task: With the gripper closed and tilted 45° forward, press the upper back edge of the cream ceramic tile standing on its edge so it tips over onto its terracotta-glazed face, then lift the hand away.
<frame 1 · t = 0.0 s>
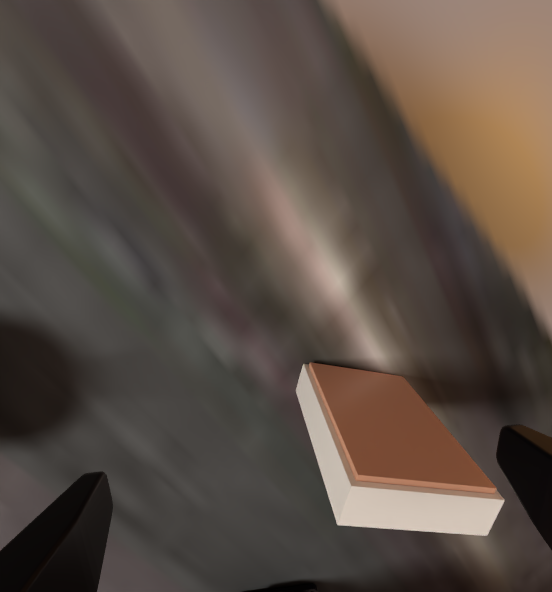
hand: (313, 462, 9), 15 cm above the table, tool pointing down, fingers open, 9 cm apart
tile: (350, 384, 26), on the table
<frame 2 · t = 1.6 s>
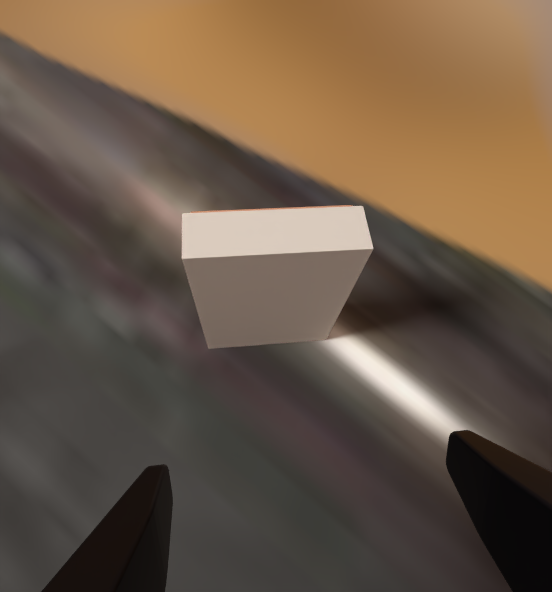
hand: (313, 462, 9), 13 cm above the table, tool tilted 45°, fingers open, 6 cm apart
tile: (266, 328, 24), on the table
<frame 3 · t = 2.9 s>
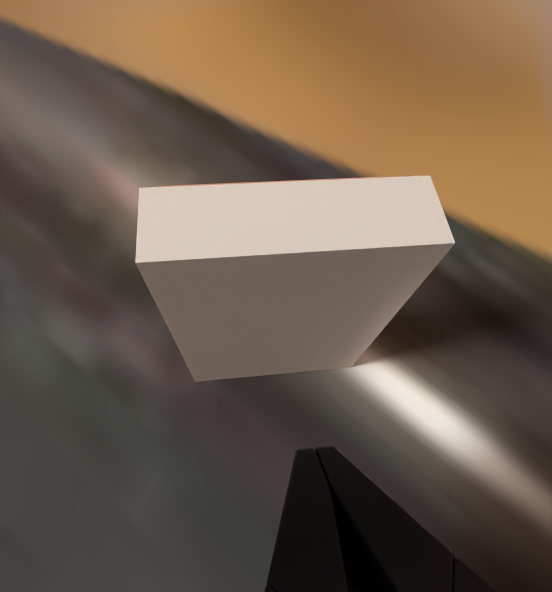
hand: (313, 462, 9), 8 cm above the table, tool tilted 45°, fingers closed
tile: (272, 352, 18), on the table
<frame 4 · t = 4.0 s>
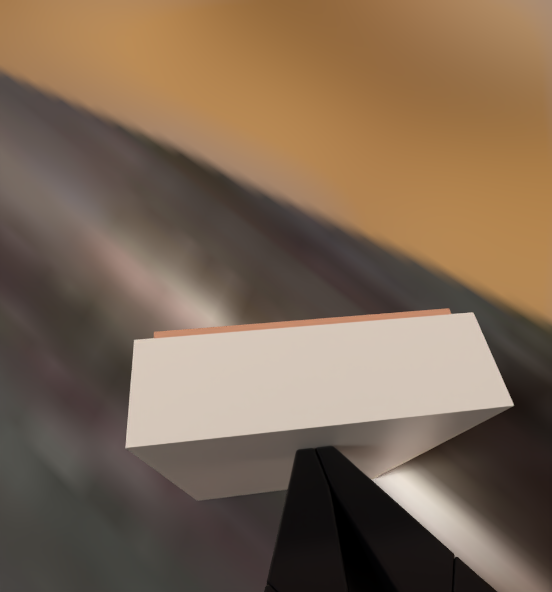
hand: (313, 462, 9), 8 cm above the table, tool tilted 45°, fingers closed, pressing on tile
tile: (284, 462, 16), on the table, tilted 5°, touching gripper
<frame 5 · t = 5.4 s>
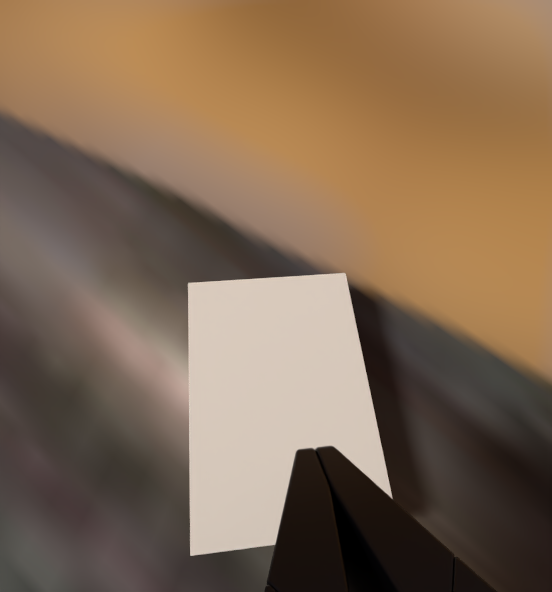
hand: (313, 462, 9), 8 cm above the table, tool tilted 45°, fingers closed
tile: (294, 538, 14), point 1 cm above the table, tilted 90°
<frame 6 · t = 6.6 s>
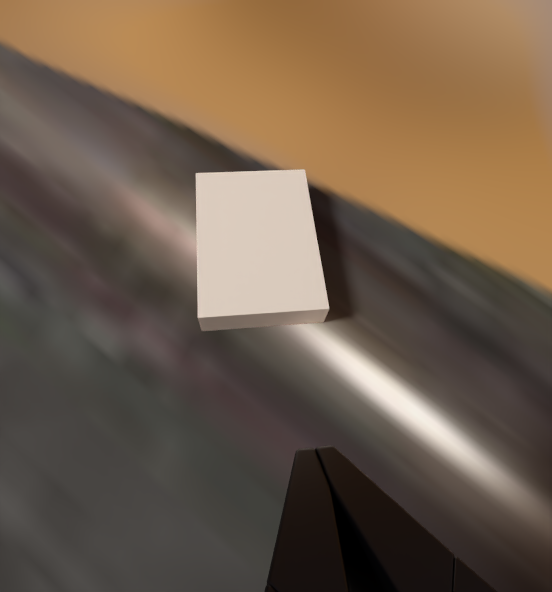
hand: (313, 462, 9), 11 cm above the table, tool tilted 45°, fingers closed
tile: (264, 320, 22), point 1 cm above the table, tilted 90°
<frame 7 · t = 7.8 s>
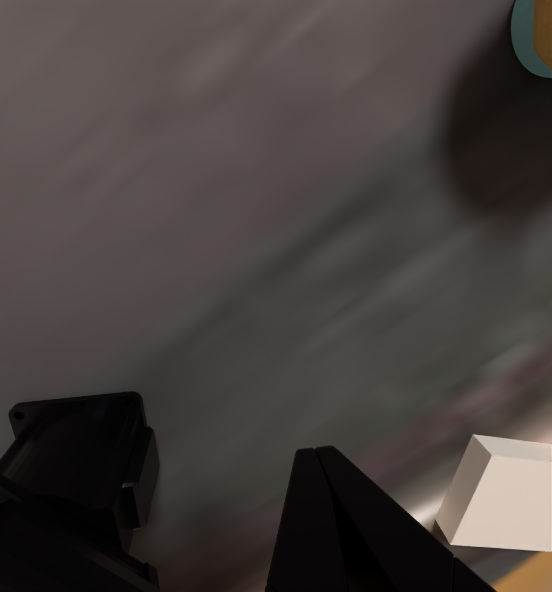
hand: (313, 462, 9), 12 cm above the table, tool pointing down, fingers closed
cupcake: (551, 20, 18), on the table
tile: (461, 489, 25), point 1 cm above the table, tilted 90°
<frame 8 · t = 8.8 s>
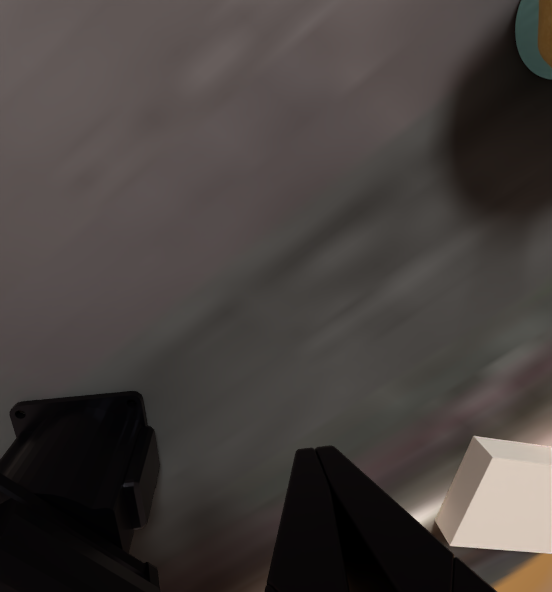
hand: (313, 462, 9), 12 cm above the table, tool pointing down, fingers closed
tile: (461, 490, 25), point 1 cm above the table, tilted 90°
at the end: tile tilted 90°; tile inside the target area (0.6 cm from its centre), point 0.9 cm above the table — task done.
